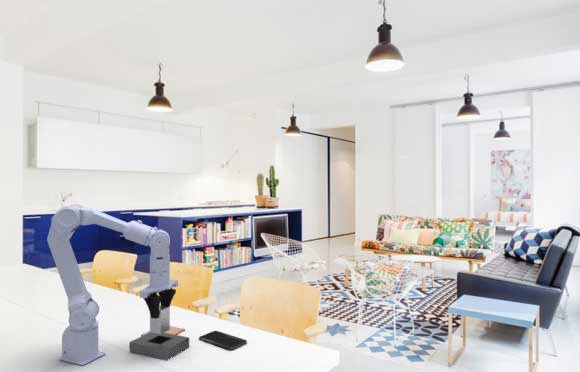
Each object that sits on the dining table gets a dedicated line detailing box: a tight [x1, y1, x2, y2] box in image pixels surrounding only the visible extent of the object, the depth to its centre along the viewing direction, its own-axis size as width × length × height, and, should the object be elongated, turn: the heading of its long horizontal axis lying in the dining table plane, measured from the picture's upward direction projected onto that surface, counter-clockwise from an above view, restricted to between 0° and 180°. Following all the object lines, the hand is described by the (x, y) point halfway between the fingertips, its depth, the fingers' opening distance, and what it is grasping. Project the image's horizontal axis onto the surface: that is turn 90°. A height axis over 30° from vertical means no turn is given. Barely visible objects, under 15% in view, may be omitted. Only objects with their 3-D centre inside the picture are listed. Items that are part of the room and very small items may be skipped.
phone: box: [198, 330, 248, 352], centre depth 127 cm, size 8×1×15 cm
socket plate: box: [129, 332, 190, 361], centre depth 120 cm, size 14×10×3 cm
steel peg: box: [149, 304, 171, 334], centre depth 120 cm, size 4×4×7 cm
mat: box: [140, 325, 186, 337], centre depth 134 cm, size 10×10×1 cm
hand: (159, 315), depth 120 cm, fingers closed on steel peg, 4 cm apart
